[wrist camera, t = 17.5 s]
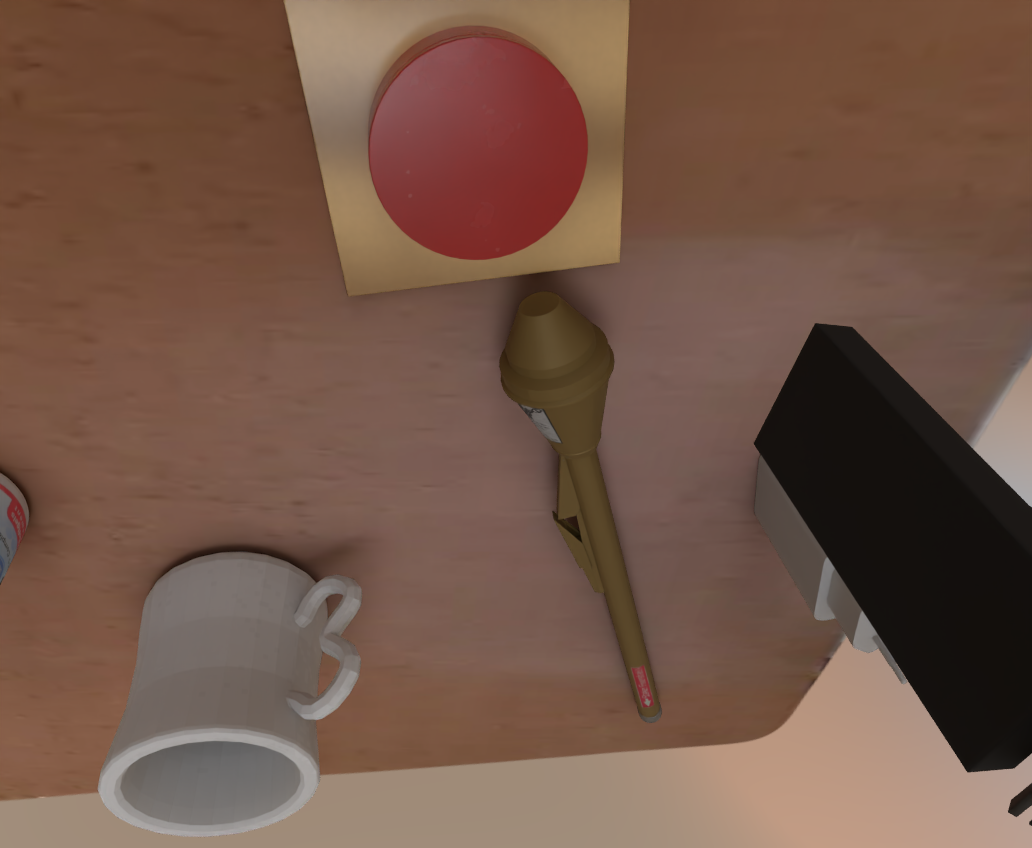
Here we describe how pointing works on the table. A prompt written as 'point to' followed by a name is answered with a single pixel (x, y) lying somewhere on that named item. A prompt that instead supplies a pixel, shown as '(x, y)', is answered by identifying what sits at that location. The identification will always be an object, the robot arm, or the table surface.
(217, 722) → the mug
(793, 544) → the power adapter
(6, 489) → the pill bottle
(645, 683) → the toy grenade launcher
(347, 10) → the coaster
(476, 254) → the lid
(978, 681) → the robot arm
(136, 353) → the table surface
